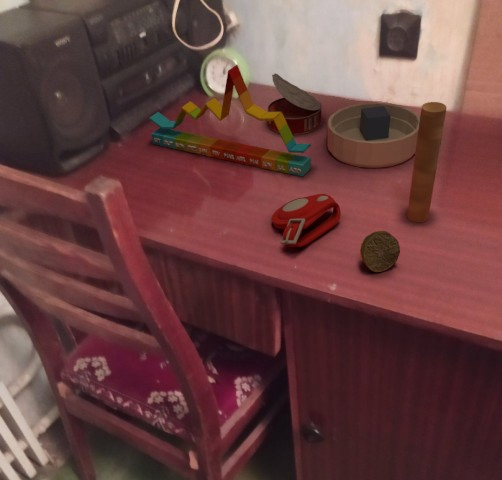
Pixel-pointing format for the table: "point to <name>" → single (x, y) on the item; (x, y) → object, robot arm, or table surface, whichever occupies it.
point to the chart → (227, 148)
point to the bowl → (372, 151)
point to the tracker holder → (305, 218)
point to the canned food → (295, 108)
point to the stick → (426, 160)
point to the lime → (379, 251)
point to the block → (375, 123)
